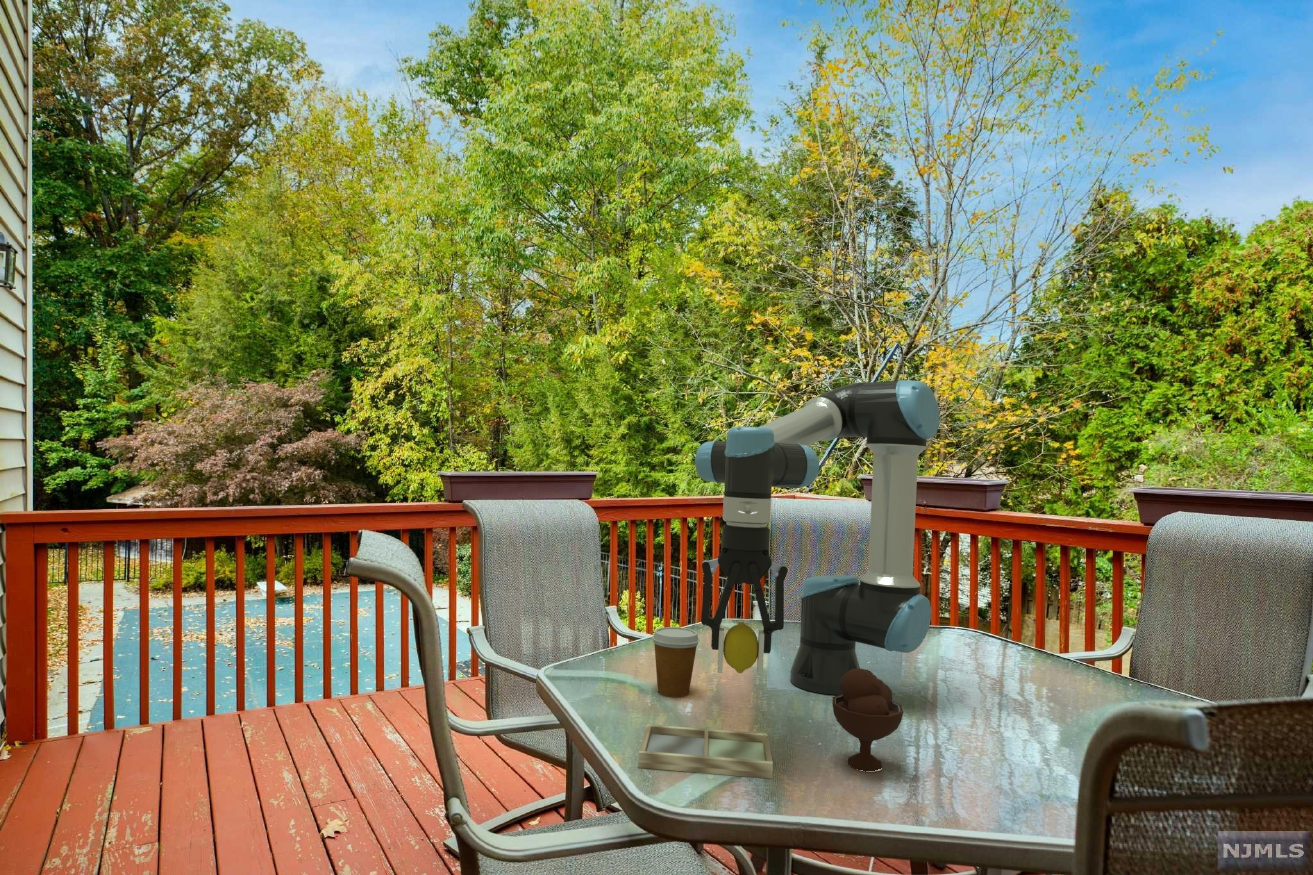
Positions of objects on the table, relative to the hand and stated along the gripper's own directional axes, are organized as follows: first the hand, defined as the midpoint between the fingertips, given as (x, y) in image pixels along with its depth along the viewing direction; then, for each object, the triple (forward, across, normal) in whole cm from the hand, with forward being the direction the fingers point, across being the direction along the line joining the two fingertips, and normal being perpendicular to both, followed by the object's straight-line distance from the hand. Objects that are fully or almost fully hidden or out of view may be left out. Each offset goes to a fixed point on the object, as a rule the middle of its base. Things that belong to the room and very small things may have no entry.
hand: (739, 671), depth 115 cm
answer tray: (+14, -5, 0) cm, 15 cm away
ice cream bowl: (+14, +20, +2) cm, 25 cm away
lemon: (+1, 0, 0) cm, 1 cm away
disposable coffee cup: (+14, -12, +31) cm, 36 cm away
